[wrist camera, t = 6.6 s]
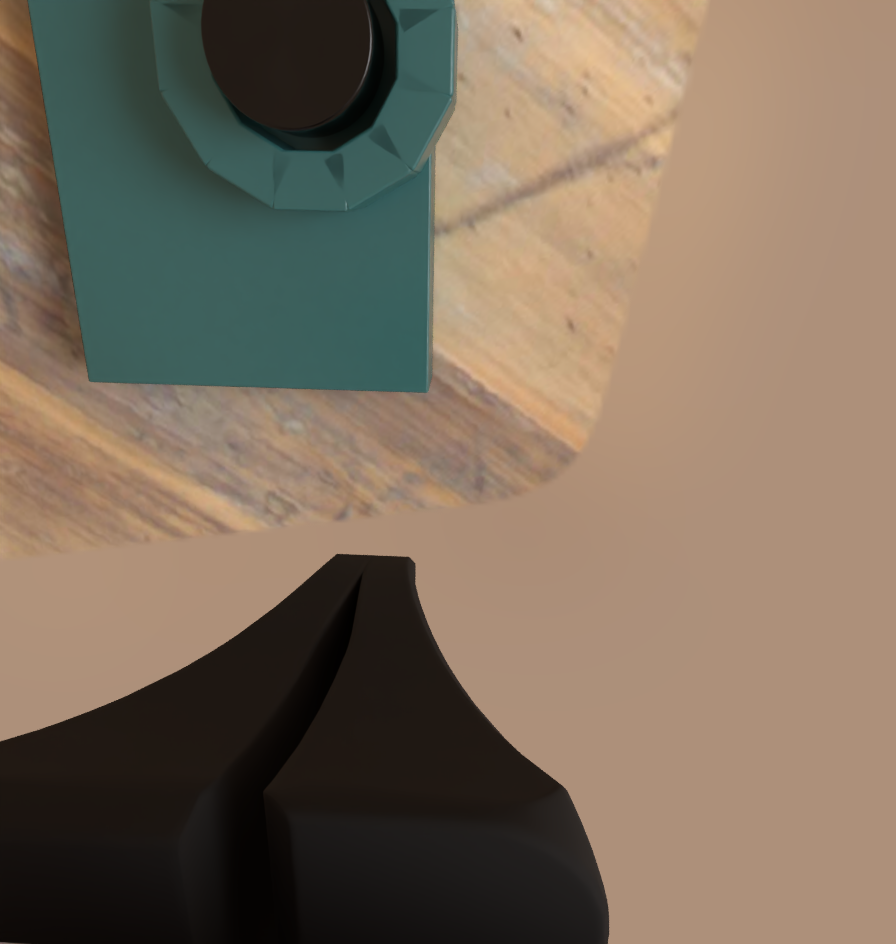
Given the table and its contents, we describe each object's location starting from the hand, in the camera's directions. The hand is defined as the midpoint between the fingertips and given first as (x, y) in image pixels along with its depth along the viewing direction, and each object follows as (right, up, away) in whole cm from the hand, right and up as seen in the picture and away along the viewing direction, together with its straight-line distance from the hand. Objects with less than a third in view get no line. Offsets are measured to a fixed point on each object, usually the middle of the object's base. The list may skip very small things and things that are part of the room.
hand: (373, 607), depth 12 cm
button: (-2, +11, +3) cm, 11 cm away
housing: (-4, +11, +6) cm, 13 cm away
